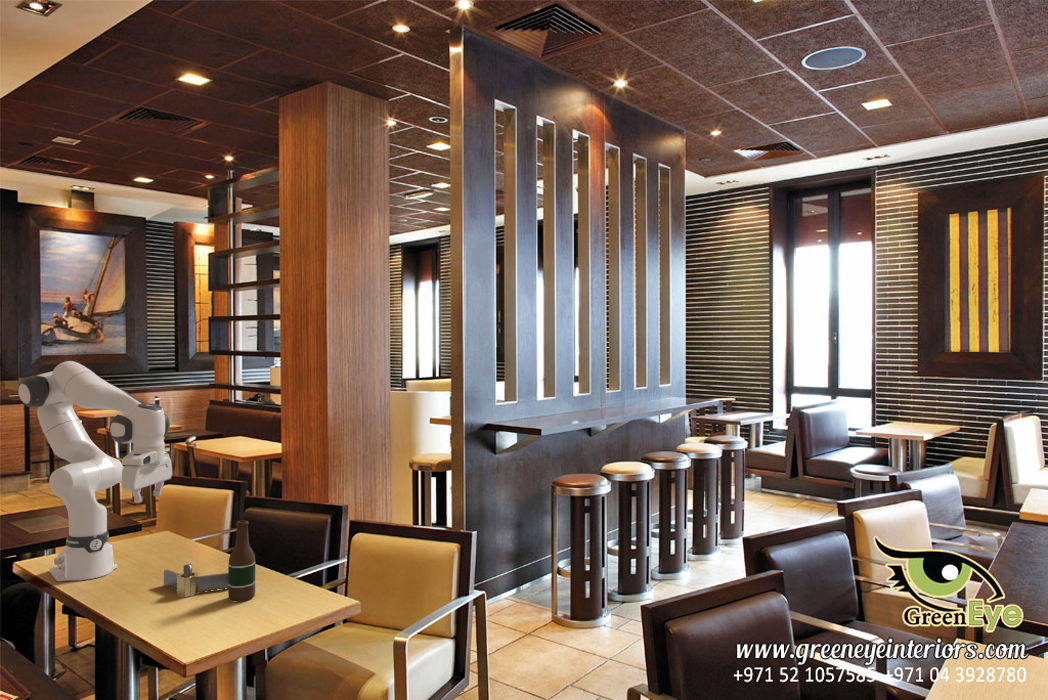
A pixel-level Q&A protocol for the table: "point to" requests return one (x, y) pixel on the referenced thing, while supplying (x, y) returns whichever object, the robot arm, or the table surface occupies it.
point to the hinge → (194, 582)
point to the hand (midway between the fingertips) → (147, 499)
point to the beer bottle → (241, 566)
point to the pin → (187, 570)
